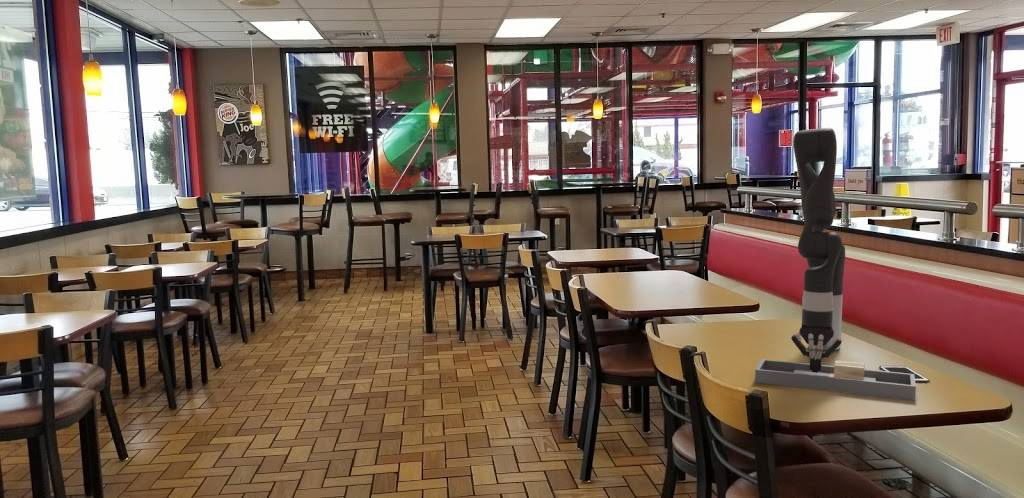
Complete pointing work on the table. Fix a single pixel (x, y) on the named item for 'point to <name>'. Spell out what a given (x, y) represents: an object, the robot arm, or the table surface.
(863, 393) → the channel
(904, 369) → the cell phone
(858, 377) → the birch block
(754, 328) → the table surface
